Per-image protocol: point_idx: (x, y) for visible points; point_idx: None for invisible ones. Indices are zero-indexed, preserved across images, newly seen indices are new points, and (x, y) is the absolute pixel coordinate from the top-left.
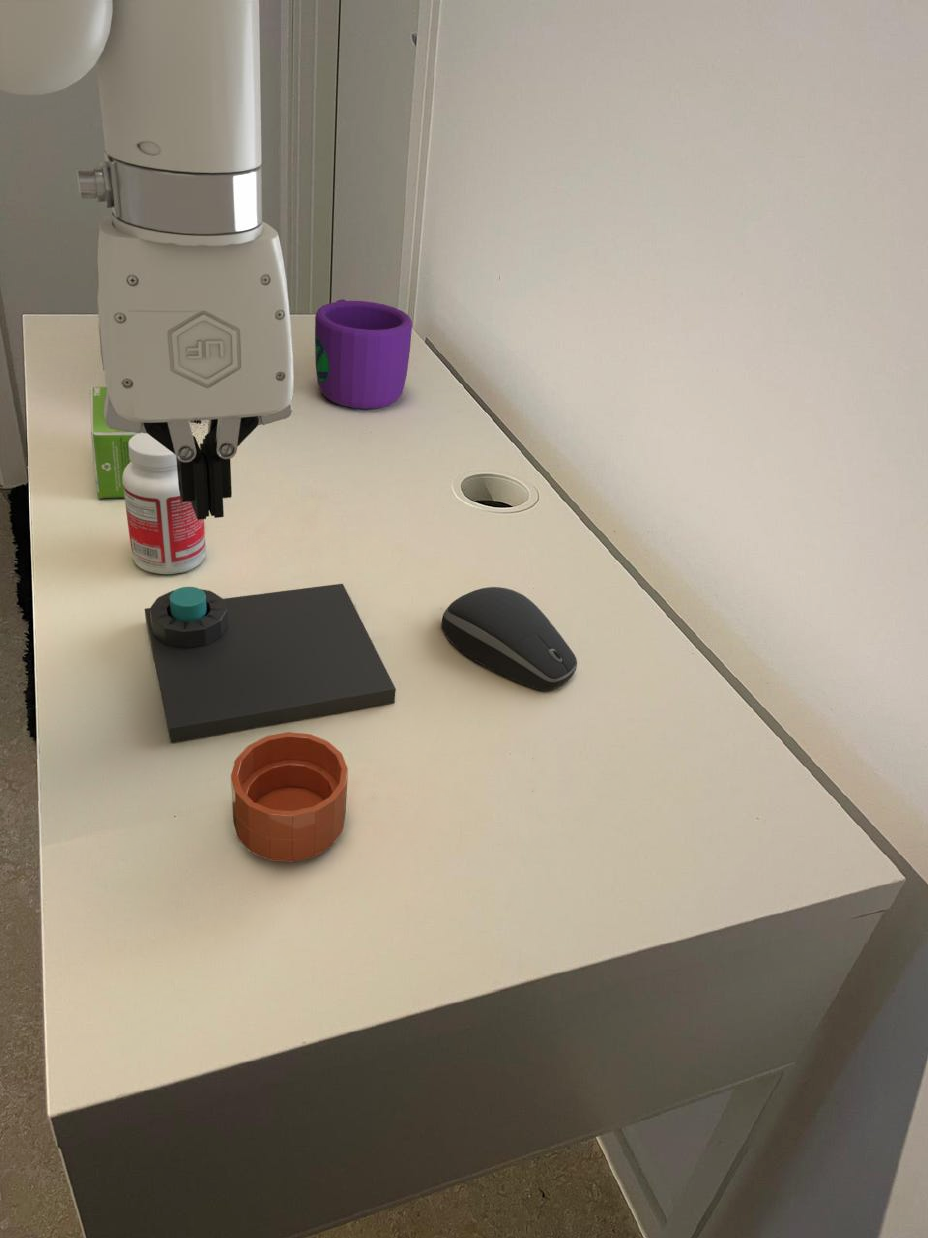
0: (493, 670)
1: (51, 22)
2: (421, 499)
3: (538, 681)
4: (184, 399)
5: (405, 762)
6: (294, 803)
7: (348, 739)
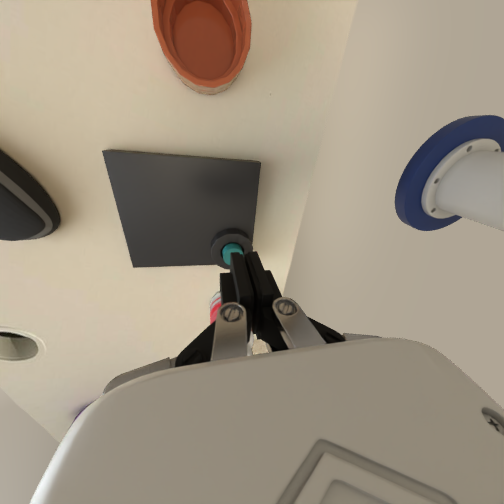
0: (9, 158)
1: None
2: (70, 338)
3: None
4: (357, 391)
5: (104, 76)
6: (198, 60)
7: (149, 122)
